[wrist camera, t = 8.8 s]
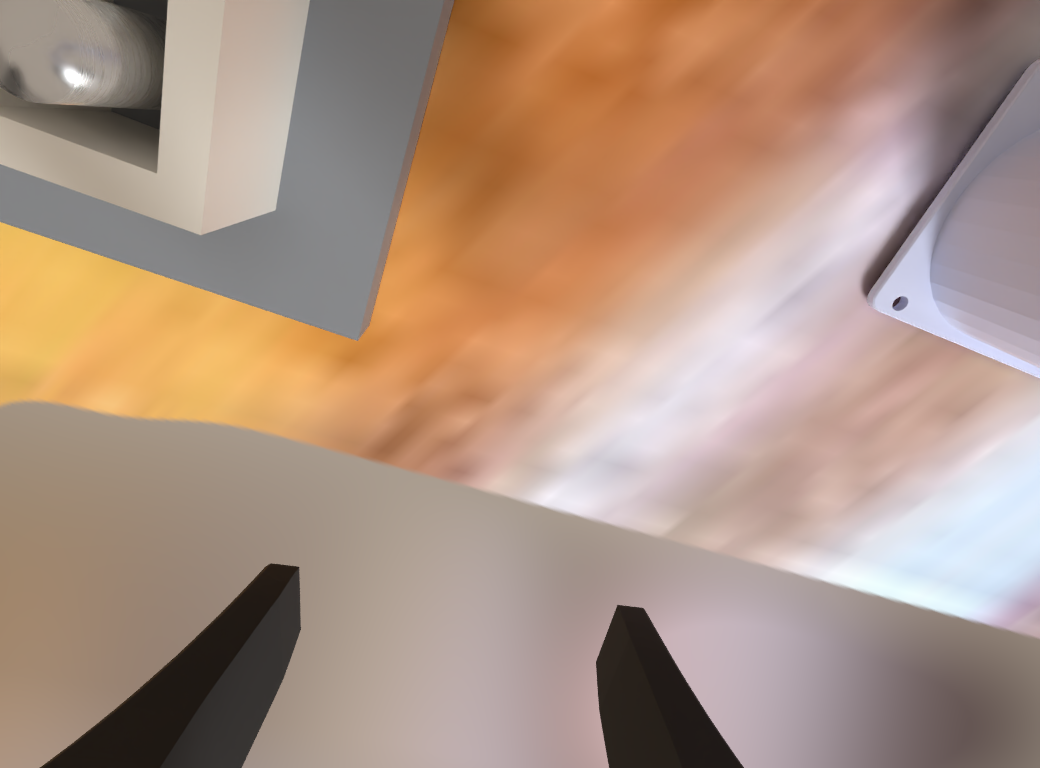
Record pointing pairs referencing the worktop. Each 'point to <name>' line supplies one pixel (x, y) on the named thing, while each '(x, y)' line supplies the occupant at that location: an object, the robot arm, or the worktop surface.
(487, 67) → the worktop surface
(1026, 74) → the robot arm
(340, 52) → the shaft board
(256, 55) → the collar
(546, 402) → the worktop surface
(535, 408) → the worktop surface
